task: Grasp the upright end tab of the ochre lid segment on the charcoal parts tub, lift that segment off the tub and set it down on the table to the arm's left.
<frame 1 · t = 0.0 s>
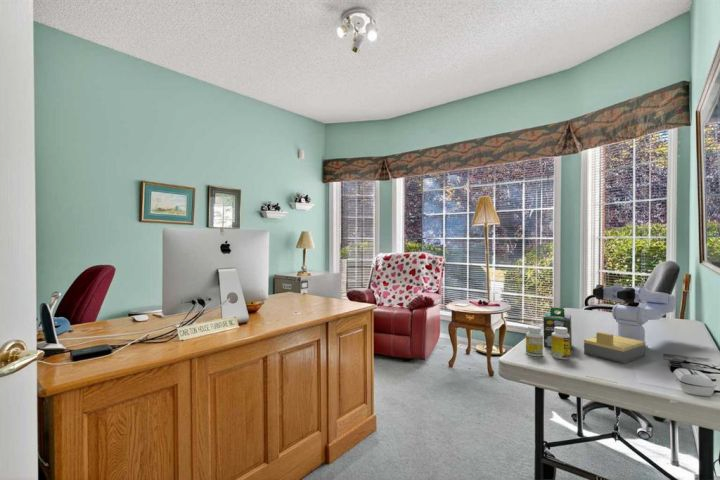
hand: (605, 293, 124), 22 cm above the table, tool horizontal, fingers open, 7 cm apart
supplement bottle: (560, 358, 119), on the table
lid end segment: (607, 345, 120), point 4 cm above the table, touching parts tub
parts tub: (614, 354, 123), on the table
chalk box: (557, 346, 133), on the table
supplement bottle 2: (534, 355, 122), on the table
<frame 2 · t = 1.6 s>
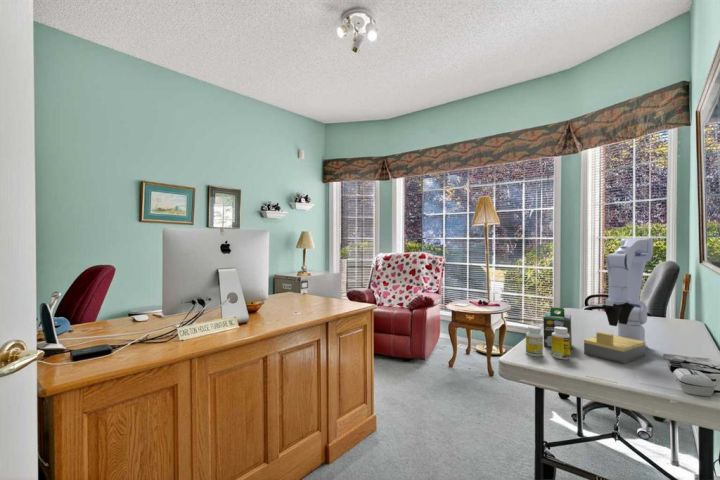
hand: (618, 324, 124), 10 cm above the table, tool pointing down, fingers open, 7 cm apart
nothing on the table moved.
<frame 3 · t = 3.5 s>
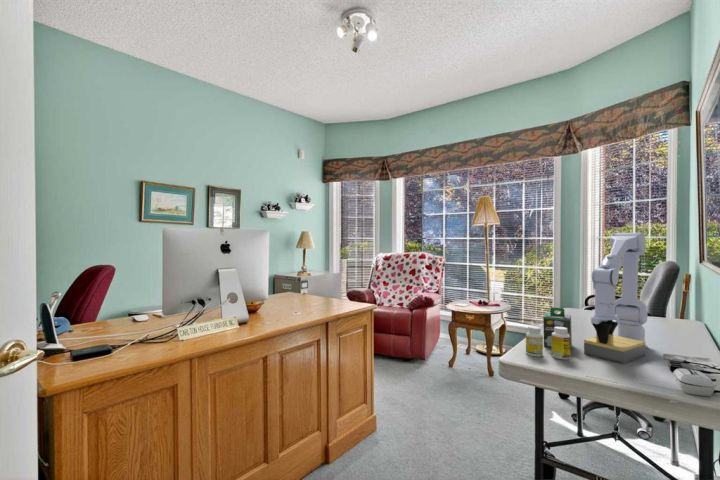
hand: (604, 342, 119), 5 cm above the table, tool pointing down, fingers closed on lid end segment, 2 cm apart
lid end segment: (607, 345, 120), point 4 cm above the table, touching gripper, parts tub
everything else where it was.
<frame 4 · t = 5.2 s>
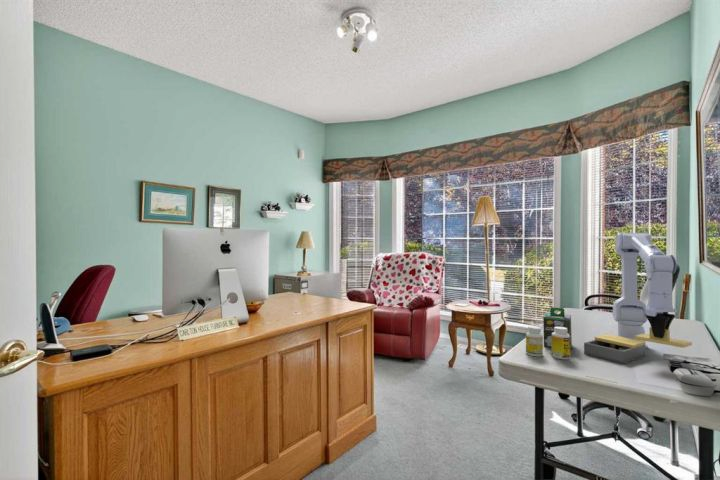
hand: (660, 337, 108), 10 cm above the table, tool pointing down, fingers closed on lid end segment
lid end segment: (662, 341, 109), point 8 cm above the table, touching gripper
everything else where it was.
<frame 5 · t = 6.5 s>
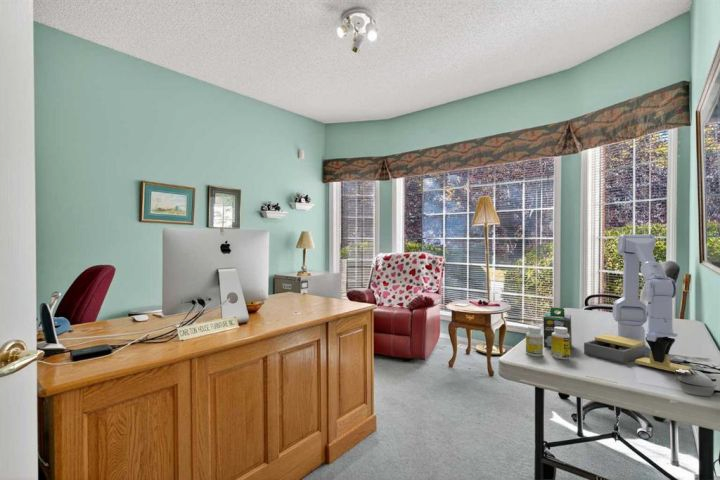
hand: (660, 361, 108), 3 cm above the table, tool pointing down, fingers closed on lid end segment, 2 cm apart
lid end segment: (662, 366, 109), point 1 cm above the table, touching gripper
everything else where it was.
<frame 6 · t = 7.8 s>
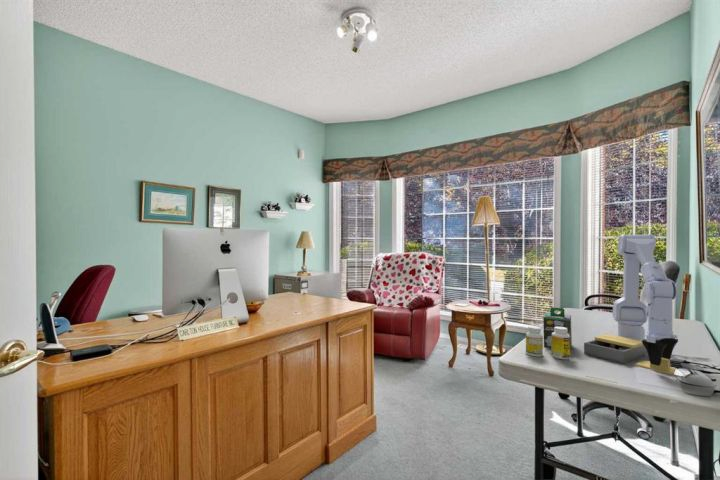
hand: (660, 362, 108), 2 cm above the table, tool pointing down, fingers open, 7 cm apart
lid end segment: (662, 370, 109), on the table
everything else where it was.
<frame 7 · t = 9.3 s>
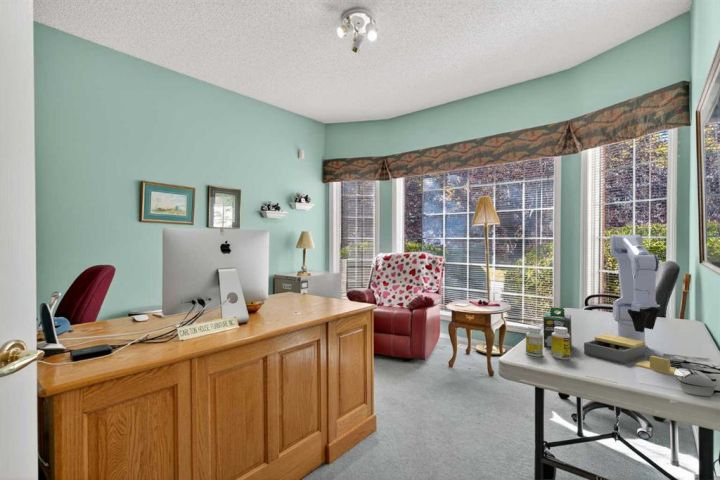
hand: (644, 330, 117), 10 cm above the table, tool pointing down, fingers open, 7 cm apart
nothing on the table moved.
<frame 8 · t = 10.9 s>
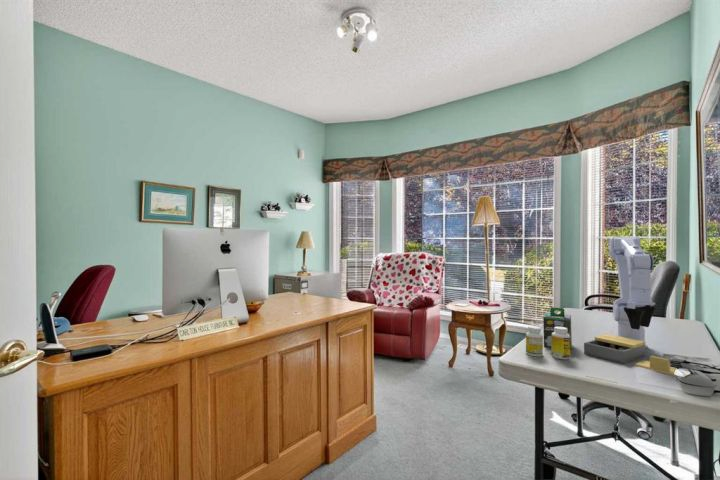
hand: (640, 327, 120), 10 cm above the table, tool pointing down, fingers open, 7 cm apart
nothing on the table moved.
at the end: lid end segment inside the target area (0.6 cm from its centre), on the table; lid end segment tilted 0°; the gripper is holding nothing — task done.
